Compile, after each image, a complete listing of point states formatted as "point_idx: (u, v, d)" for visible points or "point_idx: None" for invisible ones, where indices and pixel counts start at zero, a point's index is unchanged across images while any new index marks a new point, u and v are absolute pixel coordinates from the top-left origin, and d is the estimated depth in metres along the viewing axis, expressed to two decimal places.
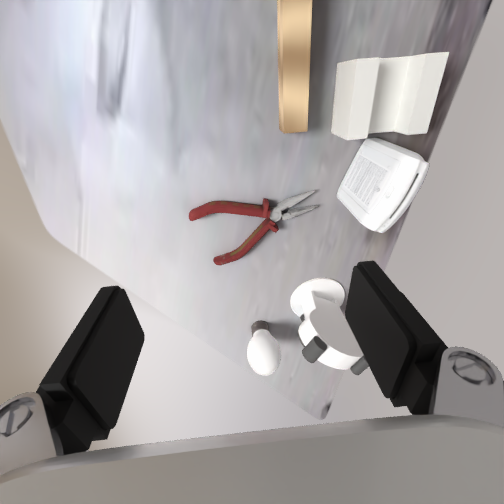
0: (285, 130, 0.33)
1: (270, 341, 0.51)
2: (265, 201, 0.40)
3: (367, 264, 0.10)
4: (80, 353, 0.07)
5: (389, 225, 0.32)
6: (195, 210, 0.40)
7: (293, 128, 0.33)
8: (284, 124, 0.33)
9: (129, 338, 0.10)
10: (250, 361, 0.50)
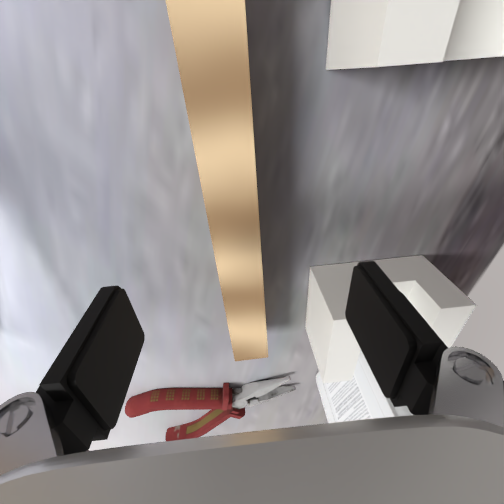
0: (236, 358, 0.23)
1: None
2: (225, 393, 0.31)
3: (367, 264, 0.10)
4: (80, 353, 0.07)
5: None
6: (132, 405, 0.31)
7: (247, 356, 0.23)
8: (234, 353, 0.23)
9: (129, 338, 0.10)
10: None
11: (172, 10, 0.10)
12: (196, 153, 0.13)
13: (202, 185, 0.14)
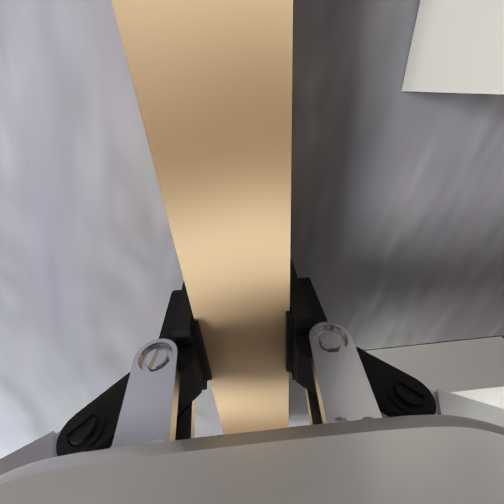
0: None
1: None
2: None
3: None
4: None
5: None
6: None
7: None
8: None
9: None
10: None
11: None
12: (178, 249, 0.07)
13: (190, 298, 0.08)
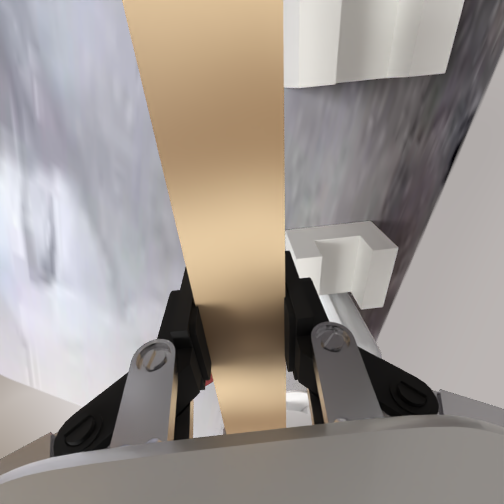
0: None
1: None
2: None
3: None
4: (192, 309, 0.08)
5: None
6: None
7: None
8: None
9: None
10: None
11: None
12: (182, 239, 0.07)
13: (192, 286, 0.08)
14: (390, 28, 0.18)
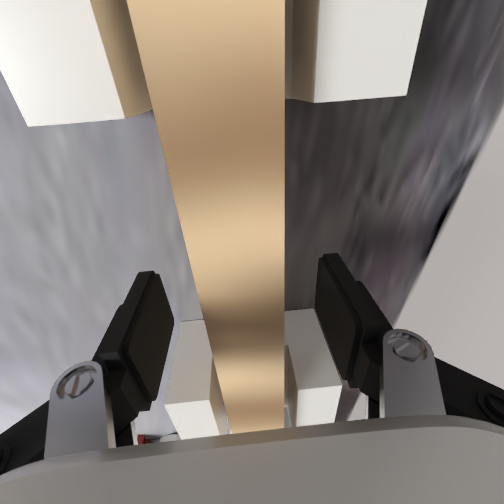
0: None
1: None
2: None
3: (330, 256, 0.10)
4: (130, 328, 0.08)
5: None
6: None
7: None
8: None
9: (163, 320, 0.11)
10: None
11: None
12: (187, 241, 0.08)
13: (197, 284, 0.09)
14: None
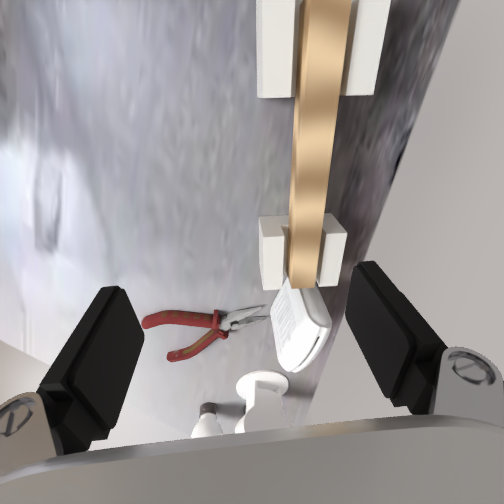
0: (293, 287, 0.33)
1: (212, 431, 0.53)
2: (214, 315, 0.43)
3: (367, 264, 0.10)
4: (80, 353, 0.07)
5: (300, 369, 0.35)
6: (147, 319, 0.43)
7: (300, 285, 0.33)
8: (292, 282, 0.33)
9: (129, 338, 0.10)
10: None
11: (309, 67, 0.21)
12: (302, 138, 0.24)
13: (301, 156, 0.25)
14: None
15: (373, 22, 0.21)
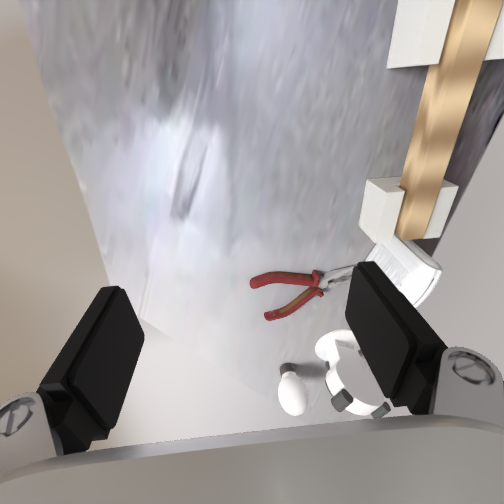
0: (404, 238, 0.38)
1: (299, 385, 0.58)
2: (315, 274, 0.48)
3: (367, 264, 0.10)
4: (80, 353, 0.07)
5: None
6: (256, 280, 0.48)
7: (411, 237, 0.38)
8: (404, 233, 0.38)
9: (129, 338, 0.10)
10: (282, 403, 0.57)
11: (464, 36, 0.25)
12: (444, 99, 0.28)
13: (439, 116, 0.29)
14: None
15: None
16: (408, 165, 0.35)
